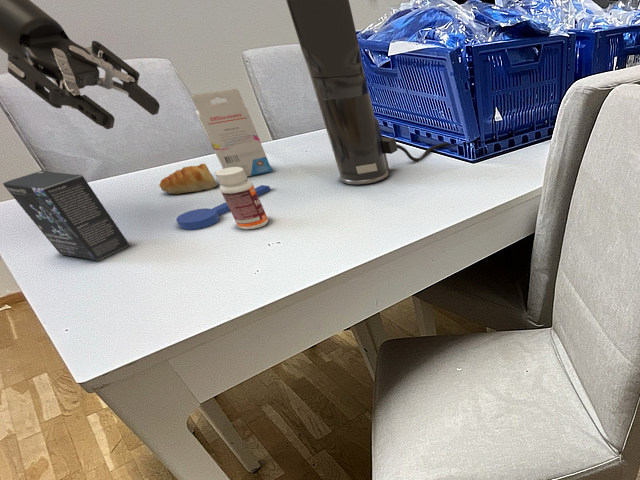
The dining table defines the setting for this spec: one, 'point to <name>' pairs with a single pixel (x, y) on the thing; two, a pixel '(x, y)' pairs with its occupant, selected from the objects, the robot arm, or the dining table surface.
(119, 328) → the dining table surface
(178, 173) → the pastry
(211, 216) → the spoon
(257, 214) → the pill bottle
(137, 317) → the dining table surface
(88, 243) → the box
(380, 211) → the dining table surface
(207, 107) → the ink box
